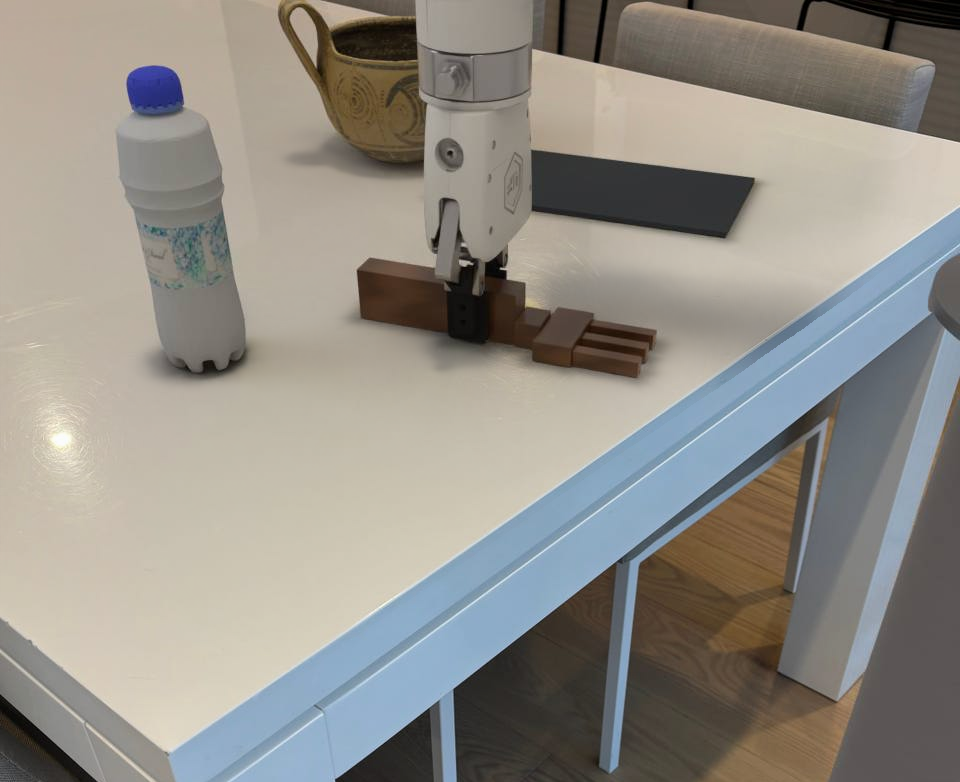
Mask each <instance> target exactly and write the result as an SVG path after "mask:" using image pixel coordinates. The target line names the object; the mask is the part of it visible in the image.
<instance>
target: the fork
mask: <svg viewBox="0 0 960 782" xmlns="http://www.w3.org/2000/svg"><path fill="white" fill-rule="evenodd" d="M356 279H357V290H358V301H359V313H360V318H361V319H366V320H371V321H376V322H382V323H388V324H394V325H399V326H406V327H411V328H417V329H422V330H427V331H433V332H438V333H445V334H448V325H447V291H445V289H444V281H443V280H439V279H436V278H435V267H431V266H426V265H419V264H413V263H408V262H407V263H406V262H402V261H394V260H390V259H389V260H387V259H382V258H375V257H368V258H367V259H366V260H365V261H364V262H363V263H362V264H361V265H360V266H359V267H358V268H356ZM484 291H489V339H488V340H487V341H489V342H495V343H500V344H506V345H512V346H513V347H515V348H520V349H526V350H531V351H532V352H531V360H532V361H533V362H539V363H544V364H549V365H555V366H561V367H566V368H571V367H576V368H582V369H588V370H593V371H599V372H604V373H609V374H614V375H621V376H627V377H631V378H632V377H633V378H638V377H639V375H640V373H641V371H642V370H641V369H642V364H646V361H647V360H648V358H649V350H651V351H652V350H653V348H654V347H655V345H656V342H657V329H654V328H648V327H642V326H635V325H629V324H623V323H617V322H613V321H605V320H599V319H595V312H593V311H586V310H581V309H580V310H579V309H573V308H567V307H561V306H557V307H556V308H555V310H554V311H553V313H552V310H550V309H544V308H539V307H533V306H526V298H527V297H526V293H527V292H526V291H527V283H526V282H525V281H518V280H514V279H513V280H512V279H508V278H507V279H501V278H494V277H488V276H485V284H484Z"/></svg>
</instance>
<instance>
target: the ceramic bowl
mask: <svg viewBox="0 0 960 782" xmlns="http://www.w3.org/2000/svg"><path fill="white" fill-rule="evenodd" d="M298 8H301V9H303V10H304V11H305V12H306V13H307V15H308V16H309V17H310V19H311V20H312V23H313V24H314V26H315V27H314V28H315V29H316V37H317V38H316V40H317V49H316V61H315V63H316V65H315V63H314V62H313V59H312V58H311V56H310V54H309V53H308V51H307V49H306V48H305V46H304V44H303V42H302V41H301V39H300V38H299V36H298V35H297V32H296V31H295V29H294V27H293V24H292V22H291V15H292V13H293V12H294V11H295V10H296V9H298ZM277 17H278V21H279V24H280V27H281V29H282V31H283V33H284V35H285V37H286V39H287V40H288V42H289V44H290V45H291V47H292V49H293V51H294V53H295V54H296V56H297V58H298V60H299V62H300V63H301V65H302V67H303V68H304V70H305V72H306V73H307V75H308V76H309V78H310V80H311V81H312V82H313V84H314V85H315V87H316V89H317V91H318V93H319V95H320V96H319V97H320V99H321V101H322V104H323V108H324V110H325V113H326V116H327V118H328V120H329V121H330V123H331V125H332V126H333V128H334V129H335V131H336V132H337V134H339V135H340V136H341V138H342V139H343V140H344V141H345V142H346V143H347V144H348V145H350V146H351V147H352V148H353V149H356V150H357V151H359V152H360V153H362V154H363V155H366V156H369V157H370V158H373V159H376V160H378V161H382V162H386V163H392V164H411V163H417V162H422V161H424V147H425V125H426V109H427V104H428V103H426V102H425V101H423V100H422V99H421V98H420V96H419V78H418V55H417V29H416V15H388V16H370V17H364V18H363V17H362V18H356V19H350V20H347V21H344V22H341V23H336V24H334V25H332V26H331V25H330V26H329V25H328V24H327V21H325V19H324V16H322V14H321V13H320V12H319V10H317V9H316V7H315V6H314V5H312V4H311V3H310V2H308V1H306V0H280V2H279V4H278V7H277Z"/></svg>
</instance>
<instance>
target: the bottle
mask: <svg viewBox="0 0 960 782" xmlns="http://www.w3.org/2000/svg"><path fill="white" fill-rule="evenodd" d="M125 84H126V92H127V97H128V101H129V104H130V107H131V110H132V112H131V113H129V114H128V115H127V116H125V117H123V119H121V120H120V121H119V122H117V124H116V127H115V140H116V149H117V158H118V172H119V180H120V182H121V184H122V187H123V189H124V199H125V200H126V202H127V203H128V204H129V205H130V207H131V209H132V210H133V214H134V220H135V223H136V228H137V232H138V237H139V241H140V246H141V249H142V255H143V259H144V264H145V269H146V272H147V276H148V280H149V284H150V290H151V297H152V304H153V311H154V316H155V322H156V328H157V333H158V337H159V340H160V344H161V346H162V349H163V351H164V353H165V355H166V358H168V360H169V361H170V362H171V364H173V365H174V366H175V367H178V368H185V367H186V366H187V367H188V368H189V370H190V371H191V372H193V373H197V374H199V373H202V372H203V371H204V365H203V364H204V363H203V362H205V361H213V363H214V366H215V369H216V370H218V371H222V370H224V369H226V368H227V367H228V365H229V363H230V360H231V361H238V360H240V359H241V358H242V356H243V354H244V352H245V349H246V344H247V343H246V342H247V341H246V340H247V339H246V338H247V337H246V336H247V334H246V331H247V329H246V321H245V315H244V310H243V307H242V302H241V298H240V295H239V294H240V293H239V290H238V286H237V282H236V278H235V273H234V268H233V267H234V266H233V260H232V254H231V248H230V242H229V236H228V230H227V224H226V219H225V213H224V207H223V202H222V200H223V195H224V193H225V184H224V182H223V165H222V163H221V160H220V156H219V154H218V153H219V152H218V149H217V147H216V144H215V140H214V136H213V134H212V130H211V126H210V123H209V120H208V119H207V117H206V116H204V115H203V114H202V113H200V112H198V111H195V110H192V109H191V108H188V107H185V100H184V93H183V87H182V83H181V80H180V78H179V76H178V74H177V73H176V71H175V70H173V69H172V68H170V67H167V66H165V65H153V64H152V65H145V66H141V67H137V68H135V69H133V70H131V72H129V73H128V75H127V77H126V83H125Z"/></svg>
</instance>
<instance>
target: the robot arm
mask: <svg viewBox="0 0 960 782" xmlns="http://www.w3.org/2000/svg"><path fill="white" fill-rule="evenodd" d="M414 1H415V2H414V3H415V16H416V29H417V55H418V78H419V96H420V98H421V99H422V100H423V101H425V102H426V103H428V104H427V109H426V125H425V147H424V160H423V207H424V208H423V213H424V227H425V229H424V230H425V238H426V244H427V247H428V249H429V251H430V252H431V253H432V254H434V255H436V258H435V259H436V260H435V266H434V268H435V278H436V279H439V280H443V281H444V289H445V291H447V325H448V333H447V335H448V337H450V338H451V339H456V340H459V341H460V340H461V341H465V342H472V343H477V344H486V343H487V342H488V341H489V340H488V339H489V291H484V284H485V276H488V277H494V278H501V279H507V280H508V271H507V270H506V268H507V266H508V263H509V244H510V242H511V241H512V240H513V239H514V238H515V236H516V235H517V234H518V233H519V232H520V231H521V229H522V228H523V227H524V226H525V224H526V223H527V221H528V220H529V219H530V216H531V212H532V210H531V208H532V172H531V150H532V135H531V117H530V114H531V113H530V105H529V98H531V96H532V83H533V82H532V78H533V77H532V75H533V30H534V29H533V28H534V27H533V25H534V24H533V23H534V0H414ZM462 244H465V246H462ZM460 261H465V262H470V264H469V263H467V264H466V265H465V266H464V265H461V264H460Z"/></svg>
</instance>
